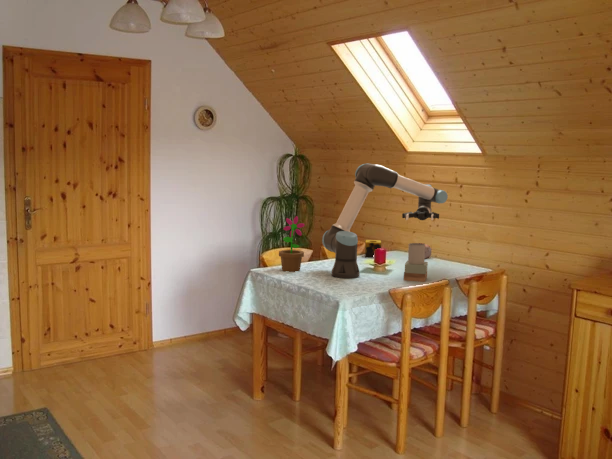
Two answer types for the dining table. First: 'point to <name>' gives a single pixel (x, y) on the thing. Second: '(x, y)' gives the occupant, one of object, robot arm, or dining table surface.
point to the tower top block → (416, 268)
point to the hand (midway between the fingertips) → (419, 217)
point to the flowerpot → (291, 257)
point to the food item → (427, 251)
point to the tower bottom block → (415, 277)
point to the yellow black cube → (371, 247)
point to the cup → (416, 253)
